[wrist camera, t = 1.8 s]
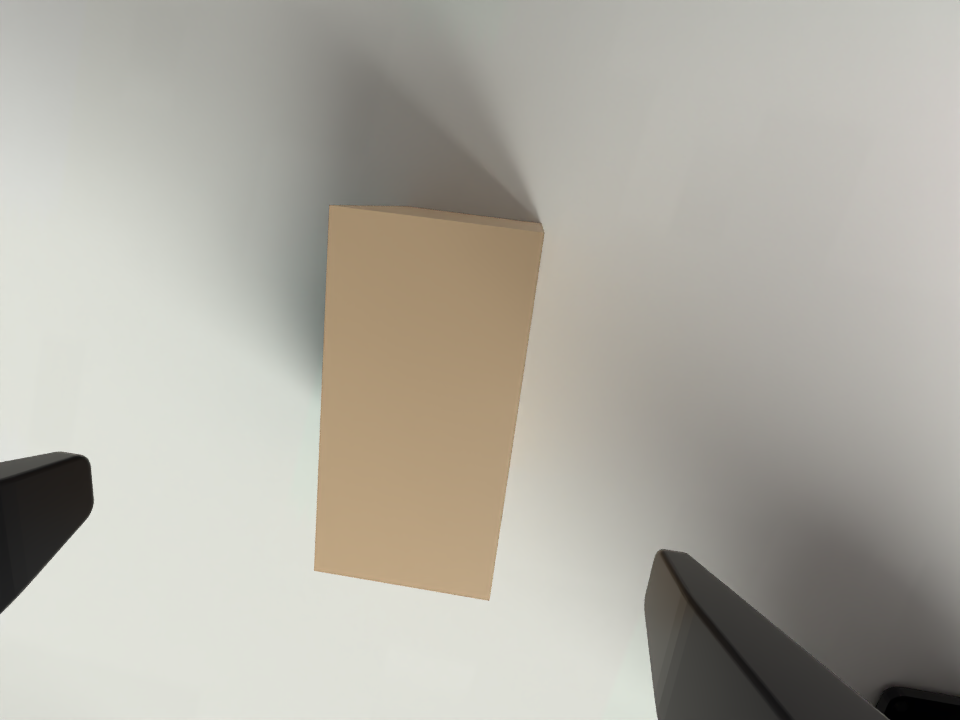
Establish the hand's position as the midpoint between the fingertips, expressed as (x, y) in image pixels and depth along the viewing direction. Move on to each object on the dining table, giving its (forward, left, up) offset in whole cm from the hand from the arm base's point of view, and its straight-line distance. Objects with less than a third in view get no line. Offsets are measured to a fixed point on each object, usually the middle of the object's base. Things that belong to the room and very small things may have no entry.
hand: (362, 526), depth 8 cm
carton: (0, 0, -11) cm, 11 cm away
